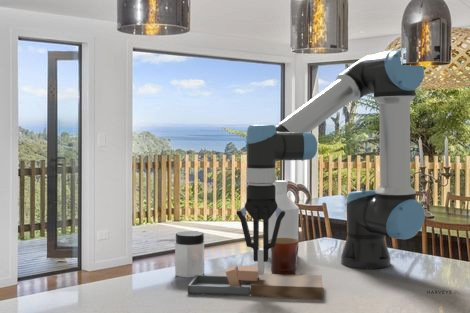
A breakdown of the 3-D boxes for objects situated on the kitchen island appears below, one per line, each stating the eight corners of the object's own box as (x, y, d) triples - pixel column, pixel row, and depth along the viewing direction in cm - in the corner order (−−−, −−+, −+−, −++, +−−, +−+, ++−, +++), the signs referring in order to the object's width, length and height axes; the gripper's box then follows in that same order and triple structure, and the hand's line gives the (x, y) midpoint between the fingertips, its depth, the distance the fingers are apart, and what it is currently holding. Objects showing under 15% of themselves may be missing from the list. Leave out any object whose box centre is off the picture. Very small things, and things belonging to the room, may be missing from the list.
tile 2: (258, 276, 160) (259, 267, 160) (257, 281, 155) (257, 271, 155) (240, 275, 160) (240, 266, 160) (237, 280, 155) (238, 270, 155)
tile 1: (236, 265, 160) (228, 267, 161) (234, 269, 155) (225, 272, 156) (242, 282, 160) (233, 285, 161) (240, 287, 155) (231, 290, 156)
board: (321, 286, 161) (321, 275, 161) (322, 299, 149) (322, 287, 149) (255, 284, 163) (255, 273, 163) (250, 296, 152) (250, 285, 151)
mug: (289, 281, 167) (289, 244, 166) (262, 276, 172) (262, 241, 171) (309, 272, 177) (309, 238, 176) (284, 268, 182) (284, 234, 181)
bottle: (300, 252, 204) (300, 179, 203) (296, 260, 192) (296, 183, 191) (266, 251, 207) (266, 179, 205) (259, 258, 195) (259, 182, 194)
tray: (253, 284, 163) (253, 276, 163) (249, 296, 152) (249, 287, 152) (196, 282, 165) (196, 275, 165) (187, 294, 154) (187, 285, 154)
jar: (180, 279, 169) (179, 237, 169) (170, 272, 177) (170, 232, 176) (209, 275, 173) (209, 234, 172) (199, 269, 180) (199, 230, 180)
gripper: (286, 182, 159) (286, 271, 160) (237, 182, 160) (237, 269, 161) (285, 185, 151) (285, 278, 152) (234, 185, 153) (234, 276, 154)
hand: (260, 273), depth 157 cm, fingers closed
